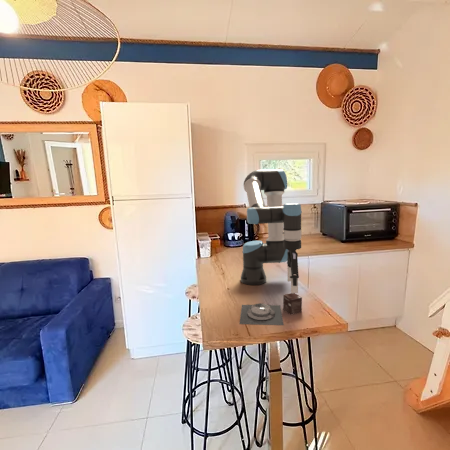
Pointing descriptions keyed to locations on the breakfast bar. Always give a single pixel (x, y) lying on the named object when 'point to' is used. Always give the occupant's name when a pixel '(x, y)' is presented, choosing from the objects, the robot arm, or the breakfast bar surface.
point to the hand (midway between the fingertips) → (292, 286)
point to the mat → (274, 321)
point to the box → (292, 303)
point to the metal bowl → (261, 312)
